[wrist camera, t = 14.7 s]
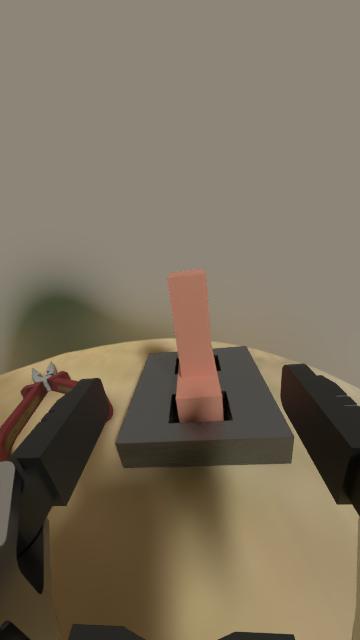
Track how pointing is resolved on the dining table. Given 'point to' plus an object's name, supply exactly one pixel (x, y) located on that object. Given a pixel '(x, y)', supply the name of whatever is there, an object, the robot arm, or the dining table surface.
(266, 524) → the dining table surface
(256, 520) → the dining table surface
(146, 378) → the grey socket board
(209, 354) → the pink tall block
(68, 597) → the dining table surface
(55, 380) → the pliers
